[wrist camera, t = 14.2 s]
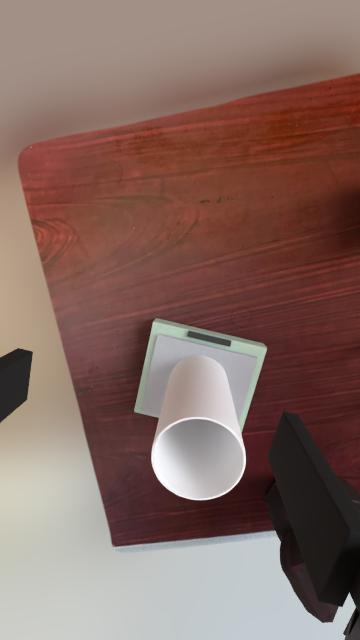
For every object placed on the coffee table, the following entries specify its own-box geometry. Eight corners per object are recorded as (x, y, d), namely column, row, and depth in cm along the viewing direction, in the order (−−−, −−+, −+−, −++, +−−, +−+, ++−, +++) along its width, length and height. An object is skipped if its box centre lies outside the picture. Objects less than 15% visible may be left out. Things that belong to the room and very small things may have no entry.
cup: (166, 356, 40) (146, 418, 25) (226, 353, 40) (244, 414, 24) (171, 411, 42) (155, 501, 26) (229, 409, 41) (247, 500, 26)
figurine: (316, 507, 47) (370, 619, 33) (276, 522, 48) (310, 637, 34) (291, 459, 46) (336, 553, 31) (250, 475, 47) (275, 574, 32)
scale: (137, 404, 45) (132, 414, 43) (155, 317, 42) (152, 322, 40) (237, 428, 45) (240, 439, 42) (263, 343, 42) (268, 349, 39)
